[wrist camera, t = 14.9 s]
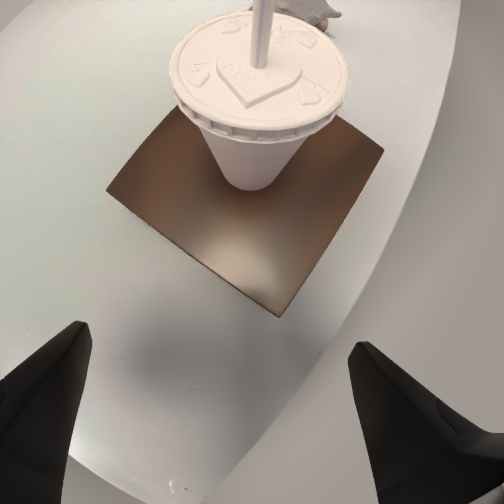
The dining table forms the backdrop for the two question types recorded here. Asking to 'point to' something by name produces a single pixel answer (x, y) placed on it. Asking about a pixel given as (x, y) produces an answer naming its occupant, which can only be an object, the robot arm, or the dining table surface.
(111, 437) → the dining table surface
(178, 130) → the wooden jewelry box
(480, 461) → the robot arm
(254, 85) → the smoothie
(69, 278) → the dining table surface
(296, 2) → the seashell
